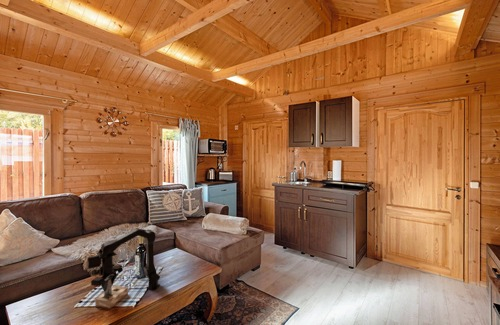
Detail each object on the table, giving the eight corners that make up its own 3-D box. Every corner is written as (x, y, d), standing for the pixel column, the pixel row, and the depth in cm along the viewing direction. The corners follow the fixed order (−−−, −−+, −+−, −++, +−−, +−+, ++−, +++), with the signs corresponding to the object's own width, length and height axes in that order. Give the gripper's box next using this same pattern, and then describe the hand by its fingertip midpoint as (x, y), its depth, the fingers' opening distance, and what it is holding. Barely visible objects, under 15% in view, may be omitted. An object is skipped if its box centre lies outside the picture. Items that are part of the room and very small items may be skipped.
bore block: (114, 292, 159) (114, 285, 159) (127, 294, 157) (127, 287, 157) (95, 306, 144) (95, 299, 144) (109, 308, 142) (109, 301, 142)
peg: (107, 293, 150) (107, 277, 149) (113, 294, 149) (113, 278, 148) (102, 297, 146) (102, 280, 145) (108, 297, 145) (108, 281, 144)
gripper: (108, 256, 157) (108, 279, 158) (82, 269, 139) (83, 296, 139) (123, 257, 155) (123, 281, 155) (99, 271, 137) (99, 298, 137)
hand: (107, 289), depth 147 cm, fingers closed on peg, 4 cm apart
